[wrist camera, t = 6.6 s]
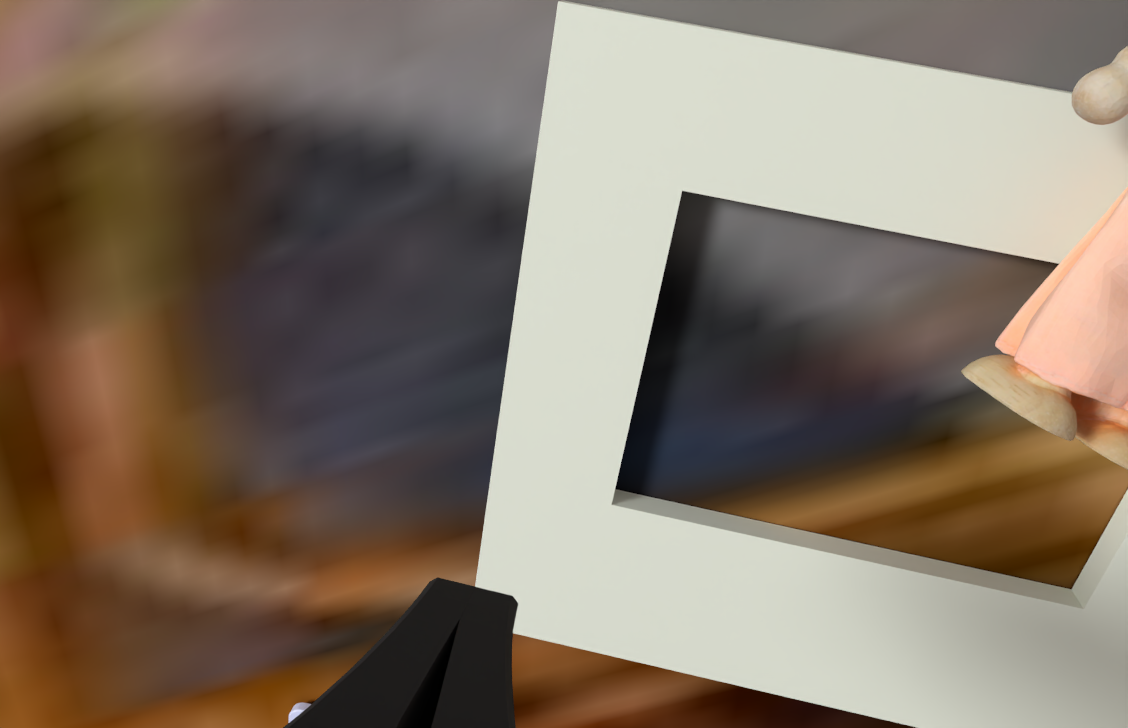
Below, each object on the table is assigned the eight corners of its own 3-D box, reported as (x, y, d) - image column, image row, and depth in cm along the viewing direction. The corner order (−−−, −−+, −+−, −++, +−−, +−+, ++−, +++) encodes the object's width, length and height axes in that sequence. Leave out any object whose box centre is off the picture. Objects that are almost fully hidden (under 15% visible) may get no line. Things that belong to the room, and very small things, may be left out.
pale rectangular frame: (1110, 752, 25) (1122, 775, 24) (476, 605, 26) (470, 622, 25) (1499, 169, 17) (1534, 176, 16) (563, 0, 18) (557, 1, 18)
